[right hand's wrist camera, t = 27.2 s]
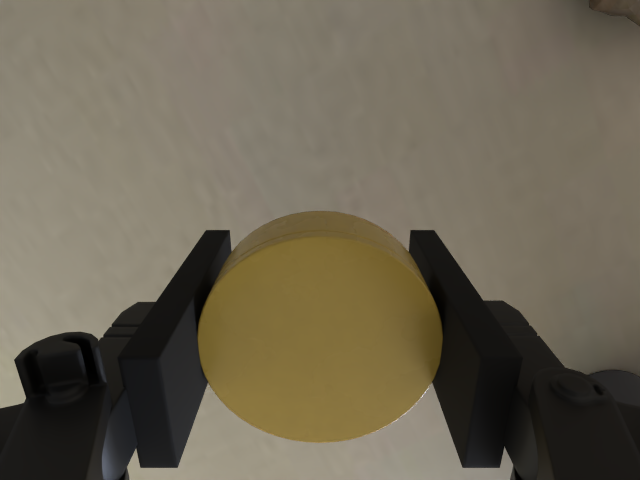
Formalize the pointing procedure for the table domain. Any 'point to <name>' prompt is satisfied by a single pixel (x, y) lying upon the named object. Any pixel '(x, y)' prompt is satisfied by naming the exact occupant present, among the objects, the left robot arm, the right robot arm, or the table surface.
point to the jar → (620, 385)
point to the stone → (618, 8)
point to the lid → (320, 329)
